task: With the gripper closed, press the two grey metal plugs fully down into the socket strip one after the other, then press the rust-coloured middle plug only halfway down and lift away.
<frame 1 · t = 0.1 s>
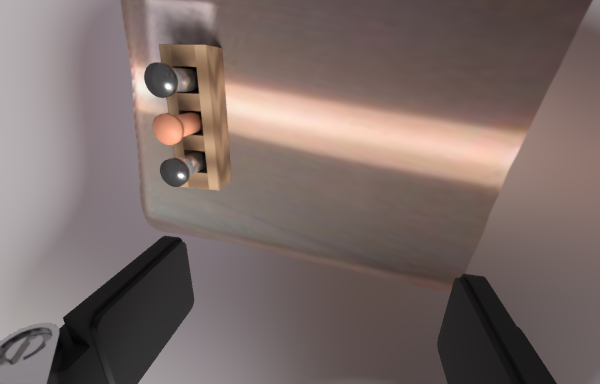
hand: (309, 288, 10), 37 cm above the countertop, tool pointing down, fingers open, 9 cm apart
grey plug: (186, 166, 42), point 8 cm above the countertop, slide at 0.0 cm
rust plug: (181, 125, 40), point 8 cm above the countertop, slide at 0.0 cm
socket strip: (207, 118, 47), on the countertop
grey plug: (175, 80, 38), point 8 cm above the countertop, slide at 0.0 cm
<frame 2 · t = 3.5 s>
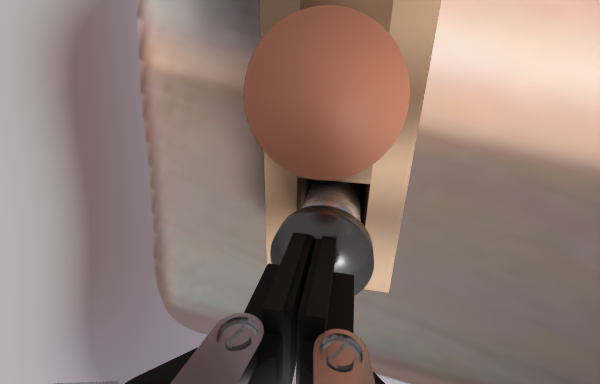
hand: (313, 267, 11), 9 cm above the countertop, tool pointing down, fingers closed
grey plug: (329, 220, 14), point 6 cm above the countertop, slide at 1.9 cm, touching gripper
rust plug: (334, 93, 10), point 8 cm above the countertop, slide at 0.0 cm
socket strip: (345, 85, 17), on the countertop
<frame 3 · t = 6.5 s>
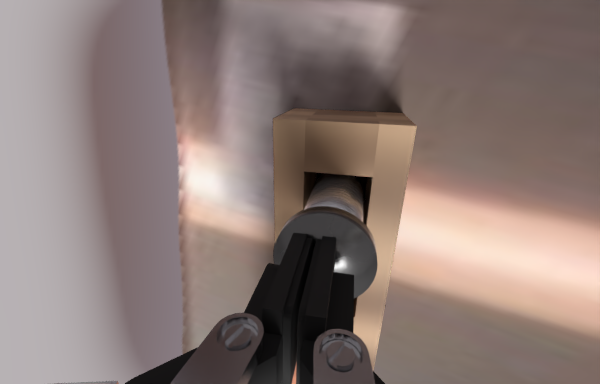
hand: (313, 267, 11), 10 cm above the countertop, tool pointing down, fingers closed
rust plug: (323, 323, 16), point 8 cm above the countertop, slide at 0.0 cm
socket strip: (335, 247, 22), on the countertop
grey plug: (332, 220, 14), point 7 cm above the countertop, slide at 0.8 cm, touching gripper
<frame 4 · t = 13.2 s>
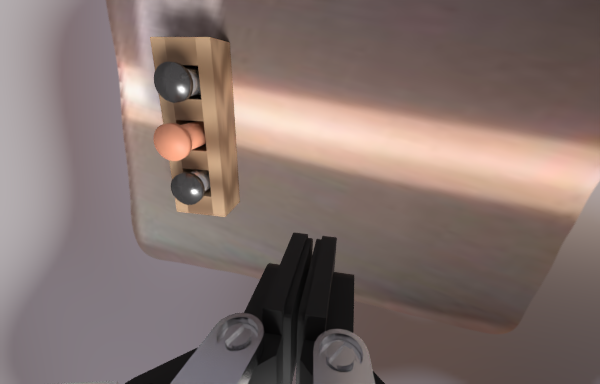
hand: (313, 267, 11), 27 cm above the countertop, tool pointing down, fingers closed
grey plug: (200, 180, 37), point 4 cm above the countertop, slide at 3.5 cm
rust plug: (188, 136, 33), point 6 cm above the countertop, slide at 1.9 cm
socket strip: (211, 129, 39), on the countertop
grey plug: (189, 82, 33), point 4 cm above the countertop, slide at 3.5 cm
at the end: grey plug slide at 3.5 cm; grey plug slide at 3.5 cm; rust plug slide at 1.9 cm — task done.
